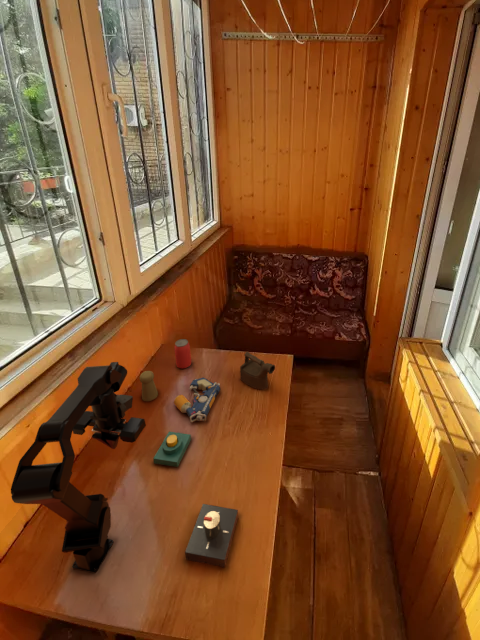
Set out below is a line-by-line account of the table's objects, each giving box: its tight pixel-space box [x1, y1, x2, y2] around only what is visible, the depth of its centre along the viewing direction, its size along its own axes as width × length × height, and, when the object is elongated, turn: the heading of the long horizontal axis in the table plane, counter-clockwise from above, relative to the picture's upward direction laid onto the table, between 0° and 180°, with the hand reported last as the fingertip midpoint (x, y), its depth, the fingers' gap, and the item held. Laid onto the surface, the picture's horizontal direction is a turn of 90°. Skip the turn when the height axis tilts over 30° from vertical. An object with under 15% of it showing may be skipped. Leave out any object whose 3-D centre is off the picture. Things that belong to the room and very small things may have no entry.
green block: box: [153, 430, 192, 468], centre depth 102 cm, size 10×8×4 cm
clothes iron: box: [239, 351, 276, 390], centre depth 131 cm, size 8×16×13 cm, turn 48°
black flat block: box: [184, 503, 239, 568], centre depth 80 cm, size 11×10×3 cm
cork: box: [139, 370, 159, 402], centre depth 124 cm, size 6×6×11 cm
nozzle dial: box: [204, 511, 221, 539], centre depth 79 cm, size 4×4×4 cm
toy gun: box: [173, 376, 221, 423], centre depth 122 cm, size 21×4×15 cm
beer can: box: [174, 338, 192, 369], centre depth 141 cm, size 7×7×12 cm
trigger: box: [167, 435, 177, 447], centre depth 102 cm, size 3×3×2 cm
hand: (114, 447), depth 90 cm, fingers closed
